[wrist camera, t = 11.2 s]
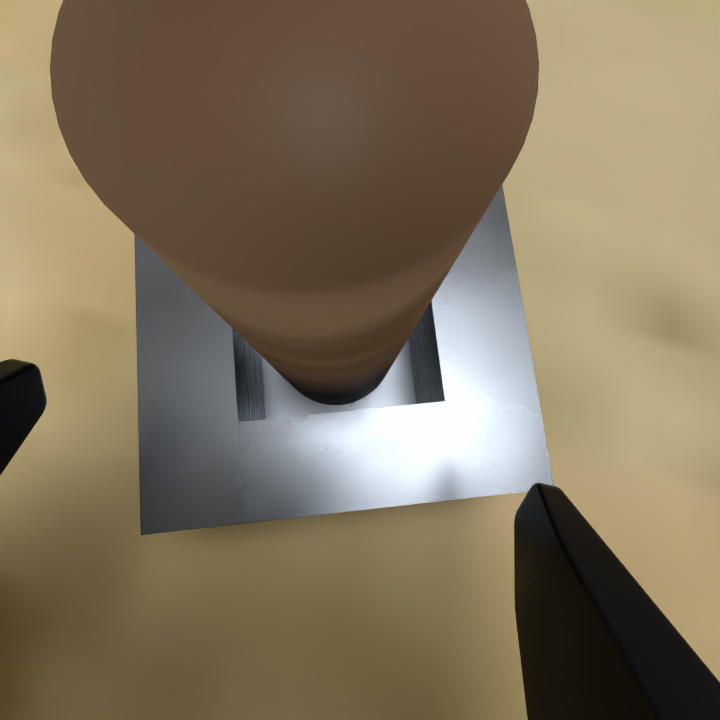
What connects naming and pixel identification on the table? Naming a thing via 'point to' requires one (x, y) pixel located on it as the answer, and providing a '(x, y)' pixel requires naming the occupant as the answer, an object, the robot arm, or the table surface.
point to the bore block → (337, 406)
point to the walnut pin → (300, 156)
